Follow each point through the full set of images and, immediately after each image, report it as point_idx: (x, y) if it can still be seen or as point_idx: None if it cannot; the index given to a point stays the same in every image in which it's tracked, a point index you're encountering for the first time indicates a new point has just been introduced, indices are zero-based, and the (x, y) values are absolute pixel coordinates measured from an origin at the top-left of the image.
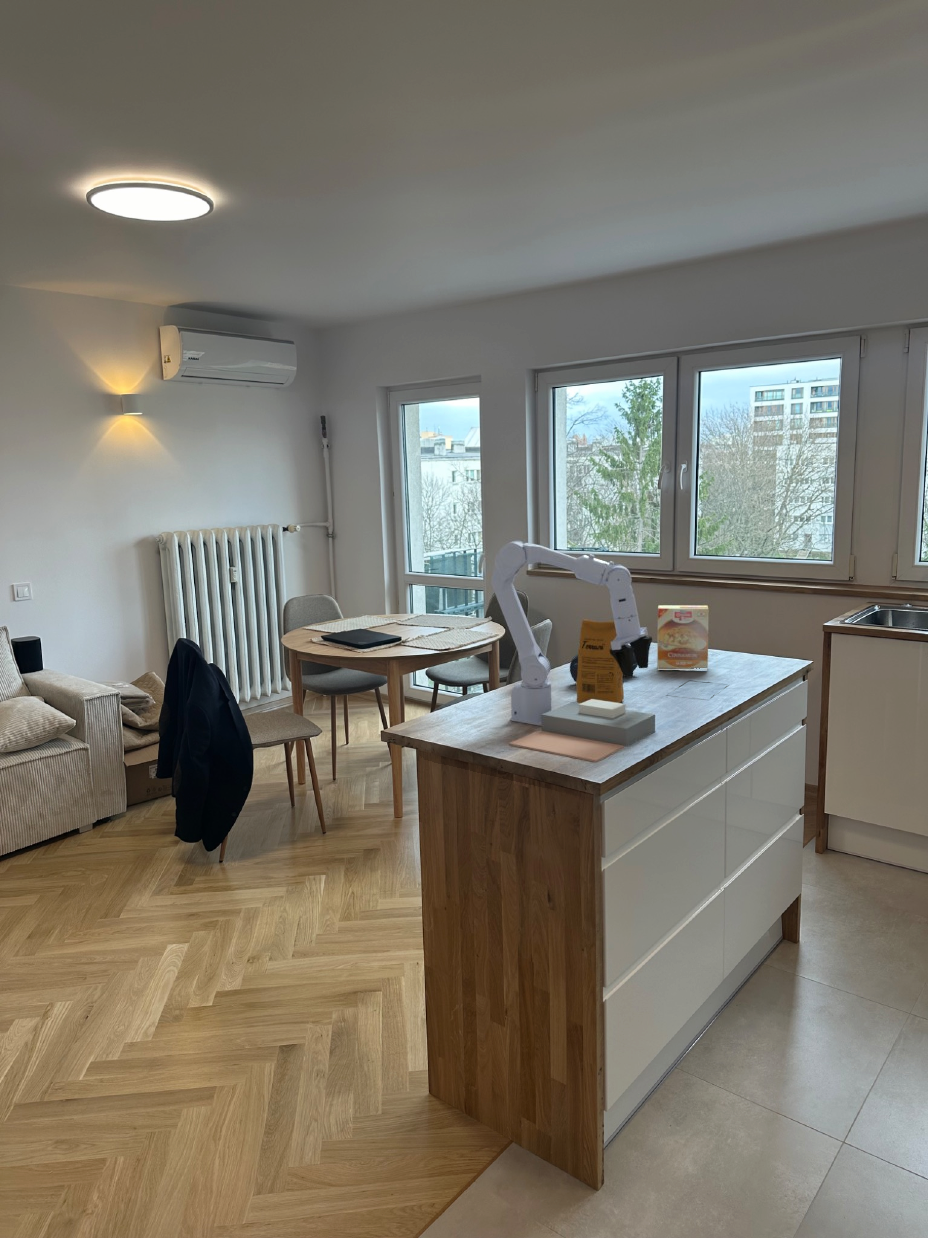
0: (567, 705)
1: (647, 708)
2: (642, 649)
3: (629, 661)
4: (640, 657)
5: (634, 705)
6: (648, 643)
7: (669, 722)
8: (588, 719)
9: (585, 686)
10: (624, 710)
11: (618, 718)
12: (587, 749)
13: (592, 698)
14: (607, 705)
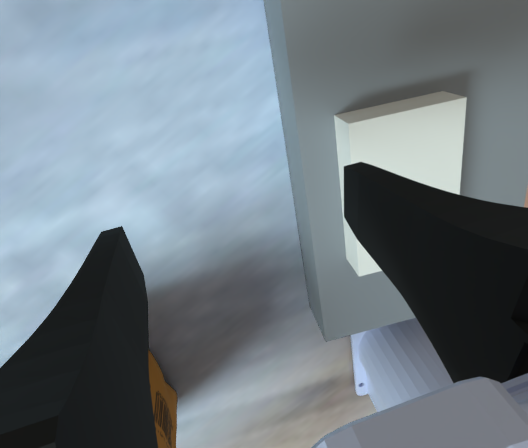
0: (376, 319)
1: (11, 238)
2: (118, 365)
3: (469, 200)
4: (132, 322)
5: (26, 294)
6: (52, 383)
7: (96, 27)
8: (503, 148)
9: (168, 433)
10: (347, 115)
11: (437, 69)
12: None
13: (161, 379)
14: (415, 164)
